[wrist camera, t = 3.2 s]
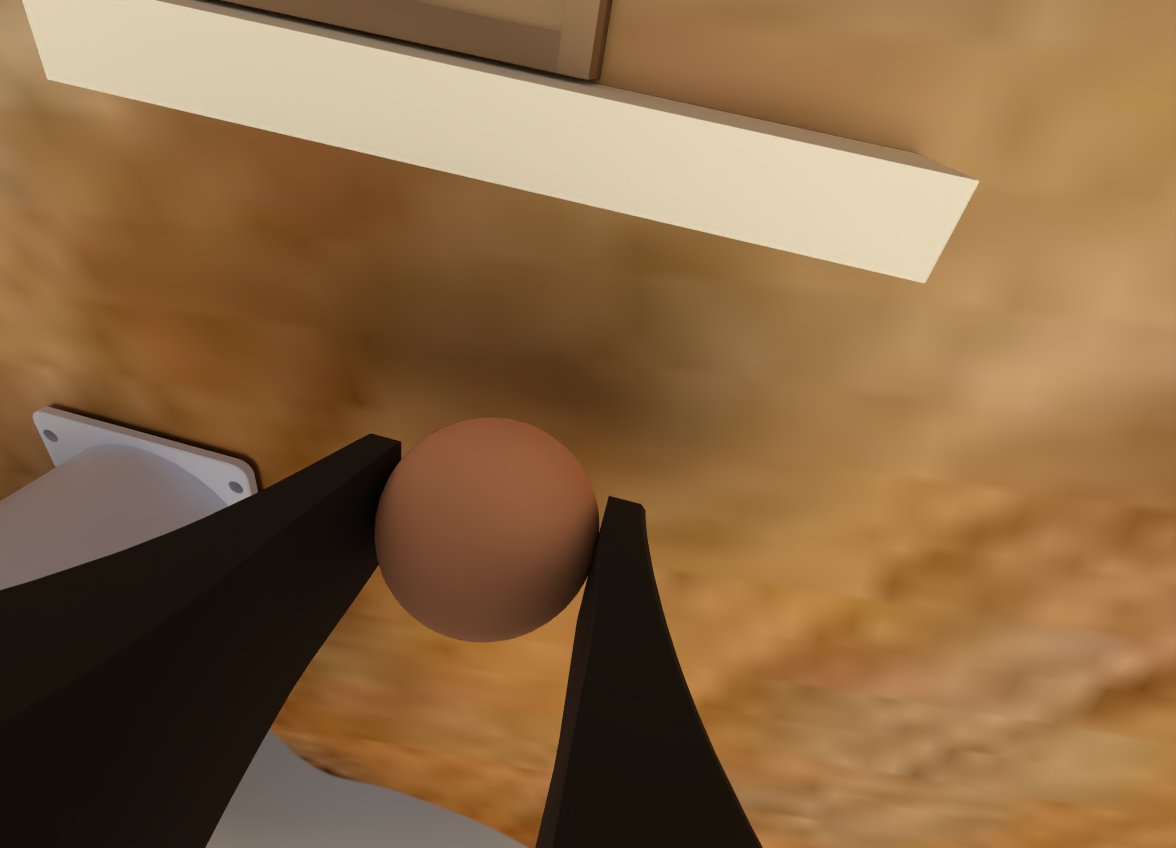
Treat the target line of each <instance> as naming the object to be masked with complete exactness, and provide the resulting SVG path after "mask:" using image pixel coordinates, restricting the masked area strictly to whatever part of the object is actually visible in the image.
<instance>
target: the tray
mask: <svg viewBox="0 0 1176 848" xmlns="http://www.w3.org/2000/svg"><path fill="white" fill-rule="evenodd" d="M223 1H227V2H232V3H237V4H241V5H246V6H250V7H255V8H260V9H264V10H269V11H273V12H278V13H283V14H287V15H292V16H296V17H301V18H305V19H310V20H315V21H319V22H324V23H328V24H333V25H338V26H342V27H347V28H351V29H356V30H361V31H365V32H370V33H374V34H379V35H384V36H388V37H393V38H397V39H402V40H407V41H411V42H416V43H420V44H425V45H430V46H434V47H439V48H443V49H448V50H453V51H457V52H462V53H466V54H471V55H476V56H480V57H485V58H489V59H494V60H499V61H503V62H508V63H512V64H517V65H522V66H526V67H531V68H535V69H540V70H545V71H549V72H554V73H558V74H563V75H568V76H572V77H577V78H581V79H586V80H592V79H600V74H601V68H602V62H603V56H604V49H605V43H606V37H607V30H608V24H609V18H610V12H611V5H612V0H223Z"/></svg>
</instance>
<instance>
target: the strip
mask: <svg viewBox="0 0 1176 848" xmlns="http://www.w3.org/2000/svg"><path fill="white" fill-rule="evenodd" d="M22 1H23V4H24V8H25V11H26V14H27V17H28V20H29V23H30V26H31V29H32V33H33V36H34V39H35V42H36V45H37V48H38V51H39V54H40V58H41V61H42V64H43V67H44V70H45V73H46V76H47V79H48V80H53V81H57V82H61V83H65V84H70V85H74V86H78V87H83V88H87V89H91V90H96V91H100V92H104V93H108V94H113V95H117V96H121V97H126V98H130V99H134V100H139V101H143V102H147V103H152V104H156V105H160V106H164V107H169V108H173V109H177V110H182V111H186V112H190V113H195V114H199V115H203V116H207V117H212V118H216V119H220V120H225V121H229V122H233V123H238V124H242V125H246V126H250V127H255V128H259V129H263V130H268V131H272V132H276V133H281V134H285V135H289V136H293V137H298V138H302V139H306V140H311V141H315V142H319V143H324V144H328V145H332V146H336V147H341V148H345V149H349V150H354V151H358V152H362V153H367V154H371V155H375V156H379V157H384V158H388V159H392V160H397V161H401V162H405V163H410V164H414V165H418V166H422V167H427V168H431V169H435V170H440V171H444V172H448V173H453V174H457V175H461V176H465V177H470V178H474V179H478V180H483V181H487V182H491V183H496V184H500V185H504V186H508V187H513V188H517V189H521V190H526V191H530V192H534V193H539V194H543V195H547V196H551V197H556V198H560V199H564V200H569V201H573V202H577V203H582V204H586V205H590V206H594V207H599V208H603V209H607V210H612V211H616V212H620V213H625V214H629V215H633V216H637V217H642V218H646V219H650V220H655V221H659V222H663V223H668V224H672V225H676V226H680V227H685V228H689V229H693V230H698V231H702V232H706V233H711V234H715V235H719V236H723V237H728V238H732V239H736V240H741V241H745V242H749V243H754V244H758V245H762V246H766V247H771V248H775V249H779V250H784V251H788V252H792V253H797V254H801V255H805V256H809V257H814V258H818V259H822V260H827V261H831V262H835V263H840V264H844V265H848V266H853V267H857V268H861V269H865V270H870V271H874V272H878V273H883V274H887V275H891V276H896V277H900V278H904V279H908V280H913V281H917V282H921V283H925V282H926V280H927V278H928V277H929V275H930V273H931V271H932V269H933V267H934V265H935V264H936V262H937V260H938V258H939V256H940V254H941V252H942V250H943V249H944V247H945V245H946V243H947V241H948V239H949V237H950V236H951V234H952V232H953V230H954V228H955V226H956V224H957V222H958V221H959V219H960V217H961V215H962V213H963V211H964V209H965V208H966V206H967V204H968V202H969V200H970V198H971V196H972V194H973V193H974V191H975V189H976V187H977V185H978V183H979V180H976V179H974V178H972V177H970V176H967V175H965V174H963V173H961V172H959V171H956V170H954V169H952V168H950V167H947V166H945V165H943V164H941V163H938V162H936V161H934V160H932V159H929V158H927V157H925V156H923V155H920V154H917V153H912V152H907V151H903V150H898V149H894V148H889V147H884V146H880V145H875V144H871V143H866V142H861V141H857V140H852V139H848V138H843V137H838V136H834V135H829V134H825V133H820V132H815V131H811V130H806V129H802V128H797V127H792V126H788V125H783V124H779V123H774V122H770V121H765V120H760V119H756V118H751V117H747V116H742V115H737V114H733V113H728V112H724V111H719V110H714V109H710V108H705V107H701V106H696V105H691V104H687V103H682V102H678V101H673V100H668V99H664V98H659V97H655V96H650V95H645V94H641V93H636V92H632V91H627V90H622V89H618V88H613V87H609V86H604V85H600V84H595V83H590V82H586V81H581V80H577V79H572V78H567V77H563V76H558V75H554V74H549V73H544V72H540V71H535V70H531V69H526V68H521V67H517V66H512V65H508V64H503V63H498V62H494V61H489V60H485V59H480V58H475V57H471V56H466V55H462V54H457V53H453V52H448V51H443V50H439V49H434V48H430V47H425V46H420V45H416V44H411V43H407V42H402V41H397V40H393V39H388V38H384V37H379V36H374V35H370V34H365V33H361V32H356V31H351V30H347V29H342V28H338V27H333V26H328V25H324V24H319V23H315V22H310V21H306V20H301V19H296V18H292V17H287V16H283V15H278V14H273V13H269V12H264V11H260V10H255V9H250V8H246V7H241V6H237V5H232V4H227V3H223V2H218V1H214V0H22Z"/></svg>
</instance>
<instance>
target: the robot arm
mask: <svg viewBox="0 0 1176 848" xmlns="http://www.w3.org/2000/svg"><path fill="white" fill-rule="evenodd" d="M33 421H34V423H35V425H36V427H37V429H38V431H39V434H40V436H41V438H42V440H43V442H44V444H45V446H46V448H47V450H48V453H49V455H50V457H51V459H52V461H53V463H54V465H55V467H56V468H54V469H52V470H51V471H49V472H47V473H46V474H44V475H42V476H41V477H39V478H38V479H36V480H34V481H33V482H31V483H29V484H28V485H26V486H24V487H23V488H21V489H19V490H18V491H16V492H14V493H13V494H11V495H10V496H8V497H6V498H5V499H3V500H1V501H0V848H205V847H206V845H207V843H208V841H209V839H210V838H211V836H212V834H213V832H214V830H215V828H216V826H217V824H218V822H219V820H220V818H221V816H222V814H223V813H224V811H225V809H226V807H227V805H228V803H229V801H230V799H231V797H232V796H233V794H234V792H235V790H236V788H237V786H238V785H239V783H240V781H241V779H242V777H243V775H244V774H245V772H246V770H247V768H248V766H249V764H250V763H251V761H252V759H253V757H254V755H255V754H256V752H257V750H258V748H259V746H260V745H261V743H262V741H263V739H264V738H265V736H266V734H267V732H268V731H269V729H270V727H271V725H272V724H273V722H274V720H275V718H276V717H277V715H278V713H279V711H280V710H281V708H282V706H283V705H284V703H285V701H286V699H287V698H288V696H289V694H290V692H291V691H292V689H293V687H294V686H295V684H296V683H297V681H298V680H299V678H300V677H301V675H302V674H303V672H304V671H305V669H306V668H307V666H308V665H309V663H310V662H311V660H312V659H313V657H314V656H315V655H316V653H317V652H318V650H319V649H320V648H321V646H322V645H323V643H324V642H325V641H326V639H327V638H328V636H329V635H330V633H331V632H332V631H333V629H334V628H335V626H336V625H337V624H338V622H339V621H340V619H341V618H342V617H343V615H344V614H345V612H346V611H347V609H348V608H349V607H350V605H351V604H352V602H353V601H354V600H355V598H356V597H357V595H358V594H359V592H360V591H361V590H362V588H363V587H364V585H365V584H366V582H367V581H368V579H369V578H370V577H371V575H372V574H373V572H374V571H375V569H376V568H377V566H378V565H379V563H378V559H377V553H376V546H375V538H374V537H375V517H376V513H377V509H378V504H379V500H380V496H381V494H382V492H383V490H384V487H385V485H386V483H387V481H388V479H389V477H390V475H391V474H392V472H393V471H394V469H395V468H396V466H397V465H398V463H399V462H400V461H401V441H397V440H393V439H390V438H386V437H382V436H378V435H374V434H369V435H367V436H365V437H363V438H361V439H359V440H357V441H355V442H353V443H351V444H349V445H348V446H346V447H344V448H342V449H340V450H338V451H336V452H334V453H333V454H331V455H329V456H327V457H325V458H323V459H321V460H320V461H318V462H316V463H314V464H312V465H310V466H308V467H306V468H304V469H303V470H301V471H299V472H297V473H295V474H293V475H291V476H289V477H287V478H285V479H283V480H281V481H279V482H278V483H276V484H274V485H272V486H270V487H268V488H266V489H264V490H262V491H260V492H258V490H257V485H256V481H255V476H254V472H253V470H252V468H251V467H250V466H249V464H247V463H246V462H245V461H243V460H240V459H237V458H234V457H230V456H226V455H223V454H219V453H215V452H212V451H208V450H204V449H201V448H197V447H194V446H190V445H186V444H183V443H179V442H175V441H172V440H168V439H164V438H161V437H157V436H153V435H150V434H146V433H143V432H139V431H135V430H132V429H128V428H124V427H121V426H117V425H113V424H110V423H106V422H103V421H99V420H95V419H92V418H88V417H84V416H81V415H77V414H73V413H70V412H66V411H62V410H59V409H55V408H52V407H44V408H42V409H40V410H38V411H36V412H34V413H33ZM535 848H763V847H762V845H761V843H760V842H759V840H758V838H757V836H756V834H755V832H754V830H753V829H752V827H751V825H750V823H749V821H748V819H747V817H746V815H745V813H744V811H743V809H742V807H741V804H740V802H739V800H738V798H737V796H736V794H735V792H734V790H733V788H732V786H731V784H730V782H729V780H728V778H727V776H726V774H725V772H724V770H723V768H722V766H721V764H720V761H719V759H718V757H717V755H716V753H715V751H714V749H713V746H712V744H711V742H710V739H709V737H708V735H707V733H706V730H705V728H704V726H703V723H702V721H701V719H700V716H699V714H698V711H697V709H696V706H695V704H694V701H693V699H692V696H691V694H690V691H689V688H688V686H687V683H686V681H685V678H684V675H683V672H682V670H681V667H680V664H679V661H678V658H677V655H676V652H675V649H674V646H673V642H672V639H671V636H670V633H669V630H668V627H667V623H666V620H665V616H664V613H663V609H662V605H661V601H660V597H659V593H658V589H657V585H656V581H655V577H654V572H653V567H652V562H651V557H650V551H649V545H648V539H647V531H646V519H645V509H644V508H643V506H642V505H641V504H638V503H634V502H631V501H627V500H623V499H619V498H615V497H611V496H609V498H608V501H607V505H606V509H605V513H604V517H603V521H602V524H601V528H600V532H599V537H598V541H597V545H596V549H595V553H594V557H593V561H592V565H591V569H590V572H589V575H588V578H587V582H586V586H585V590H584V595H583V599H582V603H581V607H580V611H579V615H578V619H577V625H576V631H575V638H574V645H573V651H572V658H571V665H570V671H569V678H568V685H567V692H566V698H565V705H564V712H563V719H562V725H561V732H560V739H559V744H558V750H557V755H556V760H555V766H554V770H553V774H552V779H551V783H550V787H549V792H548V796H547V800H546V805H545V809H544V813H543V817H542V822H541V826H540V830H539V835H538V839H537V843H536V847H535Z"/></svg>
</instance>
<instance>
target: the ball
mask: <svg viewBox="0 0 1176 848" xmlns="http://www.w3.org/2000/svg"><path fill="white" fill-rule="evenodd" d="M598 537H599V513H598V507H597V502H596V498H595V494H594V491H593V488H592V485H591V483H590V481H589V479H588V477H587V475H586V473H585V471H584V469H583V468H582V466H581V465H580V463H579V462H578V460H577V459H576V458H575V457H574V455H573V454H572V453H571V452H570V451H569V450H568V449H567V448H566V447H565V446H564V445H563V444H562V443H561V442H559V441H558V440H557V439H555V438H554V437H553V436H551V435H550V434H548V433H547V432H545V431H543V430H541V429H539V428H537V427H535V426H533V425H530V424H527V423H524V422H521V421H517V420H512V419H507V418H497V417H481V418H475V419H468V420H463V421H460V422H456V423H453V424H451V425H448V426H446V427H444V428H442V429H439V430H437V431H435V432H433V433H432V434H430V435H429V436H427V437H426V438H424V439H423V440H422V441H420V442H419V443H417V444H416V445H415V446H414V447H413V448H412V449H411V450H410V451H409V452H408V453H407V454H406V455H405V456H404V457H403V458H402V459H401V461H400V462H399V463H398V465H397V466H396V468H395V469H394V471H393V472H392V474H391V475H390V477H389V479H388V481H387V483H386V485H385V487H384V490H383V492H382V494H381V496H380V500H379V504H378V509H377V513H376V517H375V537H374V538H375V546H376V553H377V559H378V563H379V566H380V569H381V572H382V575H383V577H384V579H385V582H386V584H387V585H388V587H389V589H390V590H391V592H392V593H393V595H394V597H395V598H396V600H397V601H398V602H399V603H400V605H401V606H402V607H403V608H404V609H405V610H406V611H407V612H408V613H409V614H410V615H412V616H413V617H414V618H415V619H416V620H418V621H419V622H421V623H422V624H423V625H425V626H427V627H428V628H430V629H432V630H434V631H436V632H438V633H440V634H442V635H445V636H448V637H451V638H455V639H459V640H464V641H470V642H495V641H503V640H508V639H513V638H516V637H519V636H521V635H524V634H527V633H529V632H532V631H534V630H536V629H537V628H539V627H541V626H543V625H544V624H546V623H548V622H549V621H550V620H552V619H553V618H554V617H556V616H557V615H558V614H559V613H560V612H561V611H563V610H564V609H565V608H566V607H567V605H568V604H569V603H570V602H571V601H572V600H573V598H574V597H575V596H576V595H577V594H578V592H579V590H580V589H581V587H582V585H583V584H584V582H585V580H586V578H587V577H588V575H589V572H590V569H591V565H592V561H593V557H594V553H595V549H596V545H597V541H598Z"/></svg>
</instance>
